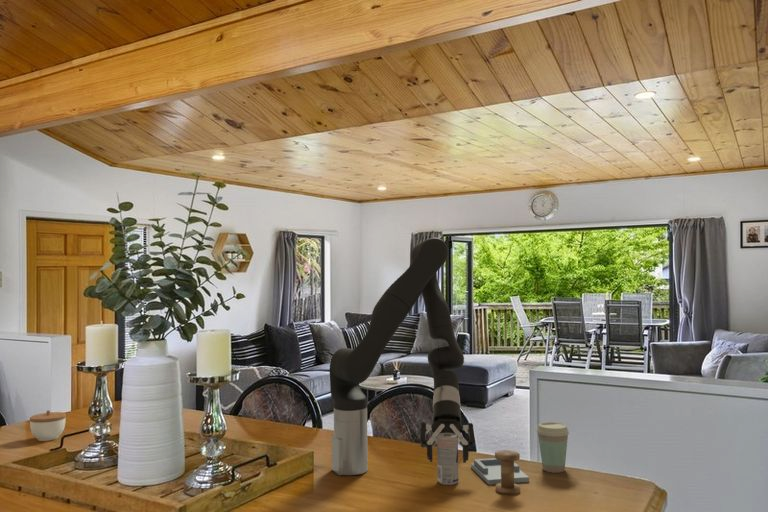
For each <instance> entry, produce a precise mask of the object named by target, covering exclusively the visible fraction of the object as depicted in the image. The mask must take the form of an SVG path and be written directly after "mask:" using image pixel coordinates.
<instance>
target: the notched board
mask: <svg viewBox="0 0 768 512" xmlns="http://www.w3.org/2000/svg"><path fill="white" fill-rule="evenodd" d="M470 467H471V468H470V469H472V470H473V471H474V472H475V473H476V474H477V475H478V476H479V477H480V479H482V480H483V481H484V482H485V483H486V484H487V485H489V486H490V485H496V484H498V483H501V460H498V459H496V458H495V457H494V458H493V457H491V458H477V459H473V463H470ZM529 482H530V476H529V475H527V474H526V473H525V472H524V471H522V470H521V469H520V465H519V464H517V463H516V461H514V483H515V484H517V483H519V484H520V483H529Z"/></svg>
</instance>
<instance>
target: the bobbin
mask: <svg viewBox="0 0 768 512" xmlns="http://www.w3.org/2000/svg"><path fill="white" fill-rule="evenodd" d="M520 457H521V456H520V453H519V452H518V451H515V450H510V449H503V450H501V449H500V450H496V451H495V452H494V458H496V459H498V460H501V483H498V484H495V492H497V493H498V494H500V495H501V494H502V495H508V496H513V495H518V494H520V493H521V486H520V485H519V484H517V483H514V462H516V461H519V460H520Z"/></svg>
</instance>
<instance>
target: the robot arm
mask: <svg viewBox="0 0 768 512" xmlns="http://www.w3.org/2000/svg"><path fill="white" fill-rule="evenodd" d="M448 257H449V249H448V245H447V244H446V242H445V241H444V240H443V239H441V238H439V237H430V238H426V239H425V240H423V241H421V242H419V243H418V244H415V246H414V247H413V249H412V250H411V254H410V258H411V264H410V265H409V266H408V268H406V270H404V272H403V273H402V274H401V275H399V277H398V278H396V280H394V282H392V284H391V285H390V286H389V287H388V288H387V289H386V290H385V291H384V292H383V294H382V295H381V296H380V298H379V300H378V301H377V302H376V304H375V306H374V307H373V309H372V311H371V317H370V323H369V326H368V330H367V331H366V334H365V335H364V337H363V338H362V340H360V342H359V343H358V344H357V346H356V347H354V348H348V347H343V348H339V349H337V350H336V351H335V352H334V353H333V355H332V357H331V358H330V360H329V361H330V362H329V386H330V388H329V389H330V396H331V399H332V402H333V434H331V439H330V441H331V446H330V447H331V470H332V471H333V472H334V473H335V474H336V475H338V476H356V475H362V474H365V473H367V471H368V468H369V467H368V466H369V463H368V462H369V461H368V460H369V459H368V457H369V456H368V455H369V454H368V452H369V451H368V398H367V396H366V395H365V394H364V392H363V391H362V388H361V387H360V384H362V383H364V382H366V381H367V380H368V378H369V377H370V376H371V375H372V373H373V372H374V369H375V367H376V365H377V364H378V362H379V359H380V358H381V356H382V354H383V352H384V350H385V348H386V347H387V346H388V344H389V342H390V341H391V340H392V338H393V337H394V336H395V333H396V332H397V331H398V329H399V328H400V326H401V325H402V324H403V322H404V321H405V320H406V318H407V316H408V315H409V313H410V312H411V311H412V308H413V307H414V305H415V304H416V302H417V301H418V299H419V298H420V296H421V295H422V299H423V304H424V308H425V312H426V318H427V325H428V331H429V336H430V338H431V339H433V340H441V341H442V340H443V341H445V342H447V344H448V345H447V346H440V347H433V348H431V350H429V352H428V355H427V362H428V365H429V367H430V370H431V373H432V377H433V378H432V379H433V396H432V397H433V398H432V424H427V423H426V422H421V426H420V427H421V428H420V436H419V437H420V438H419V439H420V440H419V443H420V447H421V448H425V449H426V458H427V461H429V463H433V462H434V461H433V460H434V458H433V456H434V454H433V452H434V451H433V447H434V446H435V445H437V437H438V434H440V433H454V434H456V435H457V438H458V446H459V445H460V447H461V448H462V463H463V464H466V463H467V461H469V449H470V448H471V449H474V448H475V445H476V440H475V439H476V438H475V430H474V424H473V423H472V422H469V423H468V424H463V423H462V416H461V413H462V412H461V408H462V407H461V405H462V404H461V397H460V387H459V383H460V382H459V377H458V374H456V373H455V372H454V370H459V369H461V368H462V367H463V365H464V362H465V356H464V353H463V351H462V348H461V346H460V344H459V343H458V340H457V338H456V335H455V332H454V329H453V328H454V327H453V324H452V317H451V313H450V308H449V305H448V303H447V300H446V299H445V297H444V295H443V293H442V291H441V288H440V285H439V282H438V276H437V275H438V274H437V272H438V271H439V270H440V269H441V268H442V266H444V264H445V263H446V262H447V259H448ZM430 431H432V435H431V437H429V439H428V440H426V437H427V434H428V433H429V432H430ZM463 431H465V433H466V434H467V435H468V440H466V438H465V437H464V435H463V434H462V433H463Z"/></svg>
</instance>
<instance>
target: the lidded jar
mask: <svg viewBox="0 0 768 512" xmlns="http://www.w3.org/2000/svg"><path fill="white" fill-rule="evenodd" d="M66 417H67V414H66V413H65V412H62V411H60V412H59V411H53V412H51V410H49V409H48V410H46V412H44V413H38V414H34V415H31V416H30V417H29V424H30V425H29V426H30V432H31V434H32V436H33V437H34V438H35V439H37V441H39V442H47V441H54V440H57V439H59V437H60V435H62V433H63V432H64V429H65V427H66V422H67V421H66Z"/></svg>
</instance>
